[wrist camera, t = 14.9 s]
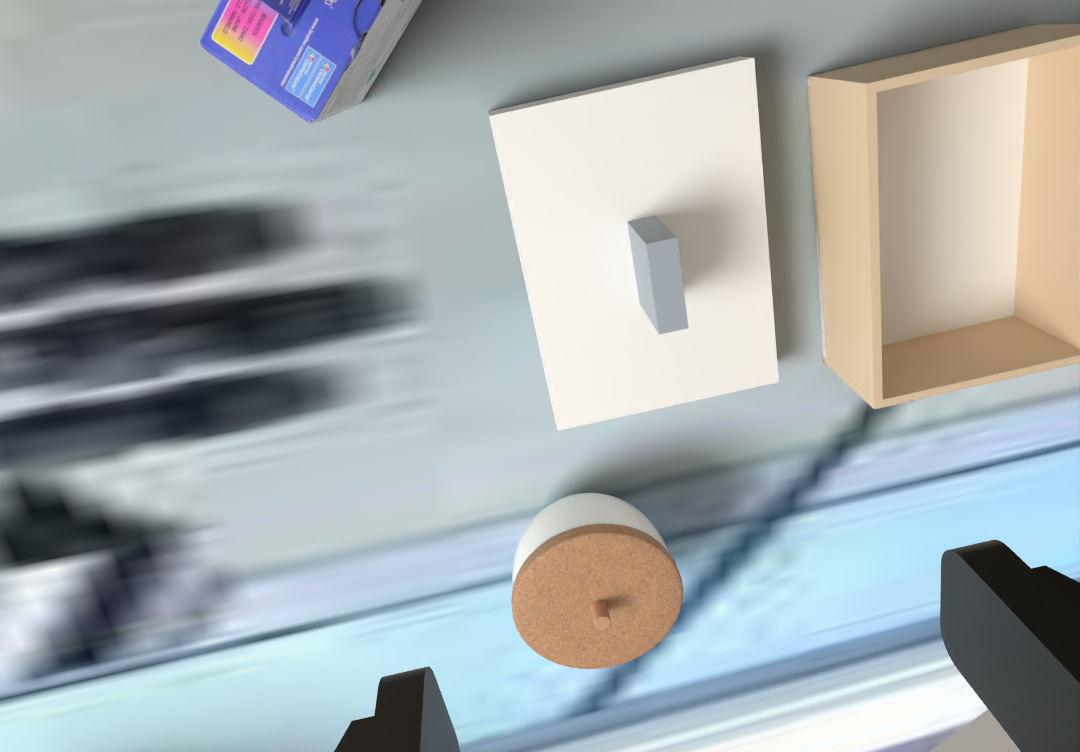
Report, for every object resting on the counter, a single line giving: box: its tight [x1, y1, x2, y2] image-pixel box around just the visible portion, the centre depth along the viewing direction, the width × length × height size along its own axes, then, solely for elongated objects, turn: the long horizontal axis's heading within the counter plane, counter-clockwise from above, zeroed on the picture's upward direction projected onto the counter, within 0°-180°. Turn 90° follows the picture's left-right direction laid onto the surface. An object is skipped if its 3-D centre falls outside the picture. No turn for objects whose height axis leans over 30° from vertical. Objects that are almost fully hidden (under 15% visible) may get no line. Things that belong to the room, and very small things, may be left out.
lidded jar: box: [512, 493, 683, 669], centre depth 50 cm, size 11×11×9 cm
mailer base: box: [807, 24, 1080, 409], centre depth 44 cm, size 18×13×7 cm
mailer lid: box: [488, 56, 779, 431], centre depth 43 cm, size 19×14×8 cm
